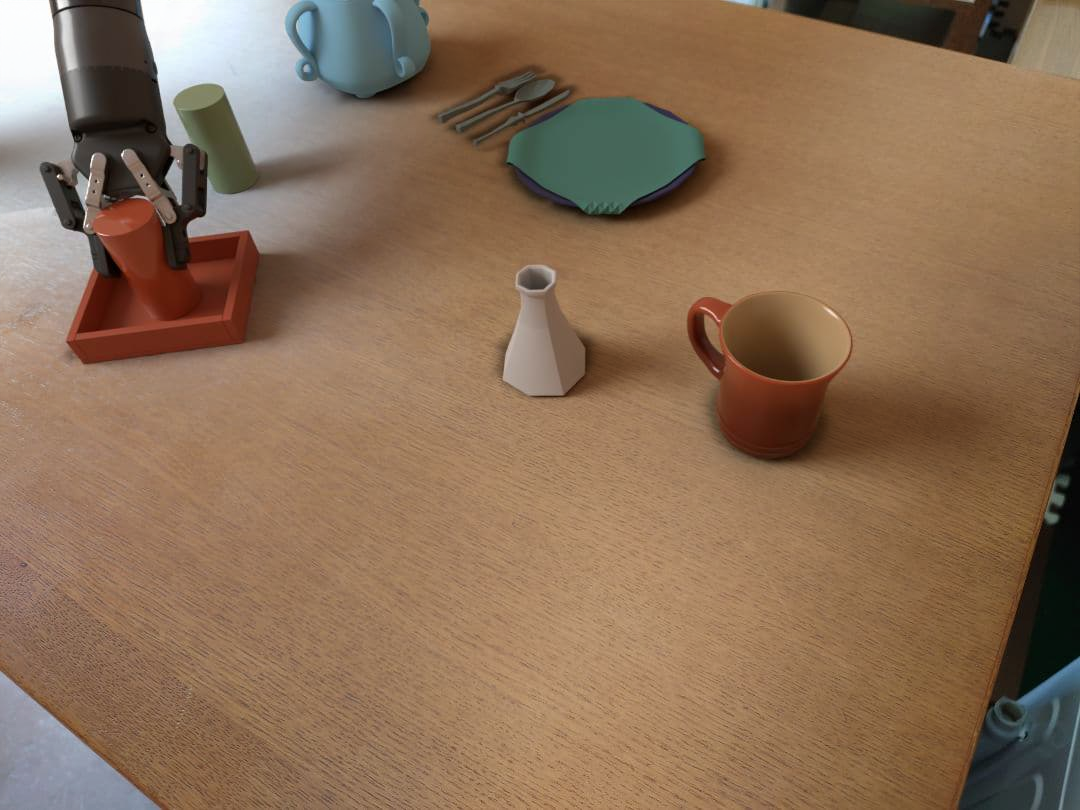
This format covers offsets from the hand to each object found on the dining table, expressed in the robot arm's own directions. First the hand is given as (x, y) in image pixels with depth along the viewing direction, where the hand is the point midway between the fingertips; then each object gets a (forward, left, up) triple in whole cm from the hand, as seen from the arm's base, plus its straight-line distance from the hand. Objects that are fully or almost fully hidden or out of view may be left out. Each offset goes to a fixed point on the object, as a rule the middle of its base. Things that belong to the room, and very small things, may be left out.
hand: (145, 273), depth 69 cm
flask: (+34, -12, -6) cm, 37 cm away
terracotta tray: (0, +2, -6) cm, 6 cm away
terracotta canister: (0, +2, -5) cm, 6 cm away
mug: (+49, -20, -6) cm, 53 cm away
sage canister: (+3, +22, -6) cm, 23 cm away
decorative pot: (+18, +42, -6) cm, 46 cm away
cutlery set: (+41, +20, -6) cm, 46 cm away
